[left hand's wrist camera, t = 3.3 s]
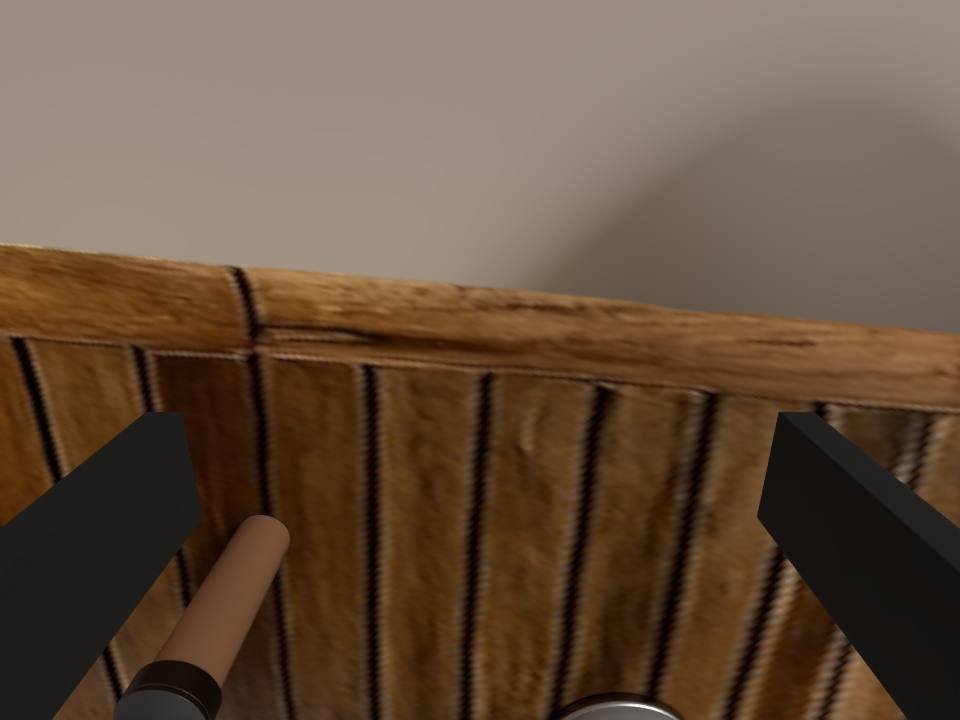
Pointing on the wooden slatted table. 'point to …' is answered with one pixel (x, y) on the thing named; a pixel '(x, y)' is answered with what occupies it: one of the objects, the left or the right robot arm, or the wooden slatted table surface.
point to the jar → (229, 598)
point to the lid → (170, 693)
